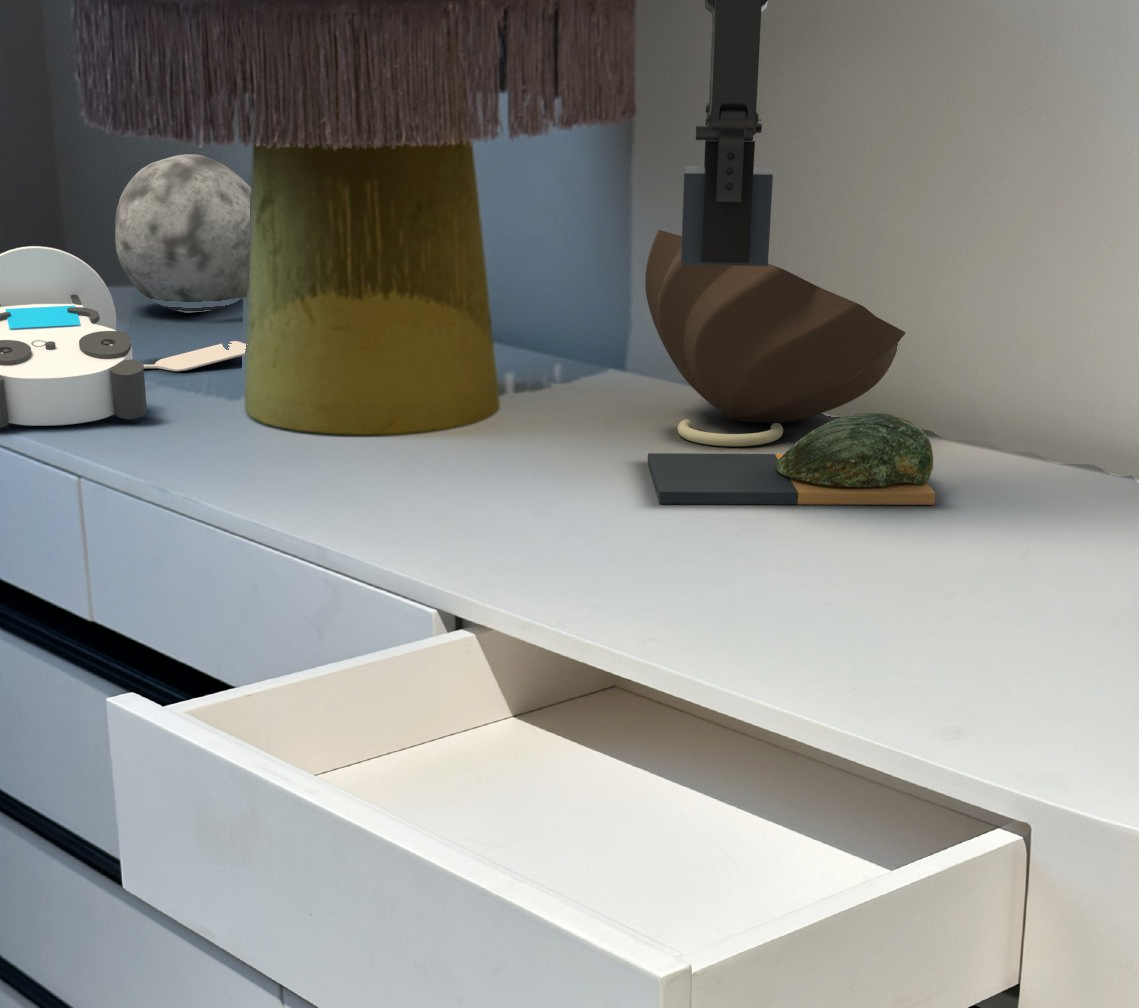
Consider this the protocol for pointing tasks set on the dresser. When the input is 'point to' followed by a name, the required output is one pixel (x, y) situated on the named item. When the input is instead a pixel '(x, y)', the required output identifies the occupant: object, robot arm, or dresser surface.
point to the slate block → (694, 217)
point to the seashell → (861, 453)
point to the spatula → (200, 357)
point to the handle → (729, 436)
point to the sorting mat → (761, 483)
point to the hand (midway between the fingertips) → (724, 254)
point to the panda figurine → (62, 344)
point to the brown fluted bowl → (763, 337)
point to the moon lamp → (185, 231)
